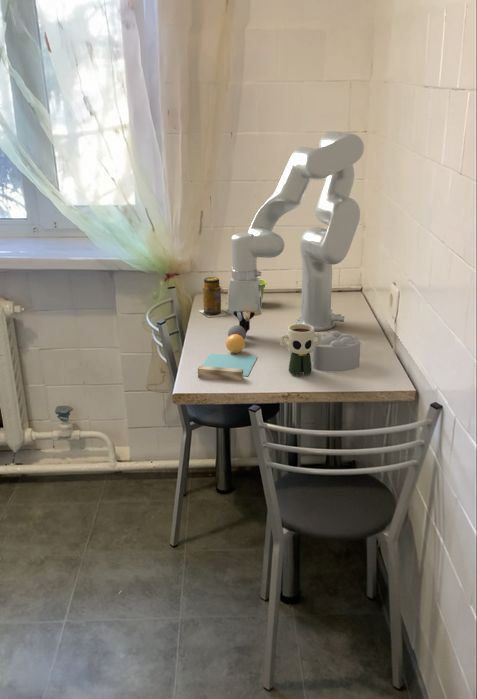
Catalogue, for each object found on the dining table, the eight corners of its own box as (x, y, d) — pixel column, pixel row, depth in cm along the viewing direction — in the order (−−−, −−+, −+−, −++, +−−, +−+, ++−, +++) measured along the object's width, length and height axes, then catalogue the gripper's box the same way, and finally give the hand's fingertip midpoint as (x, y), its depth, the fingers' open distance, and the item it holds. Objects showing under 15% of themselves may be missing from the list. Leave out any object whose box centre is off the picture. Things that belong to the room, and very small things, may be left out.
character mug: (281, 379, 176) (282, 333, 171) (278, 368, 182) (278, 324, 178) (322, 377, 177) (324, 331, 172) (317, 367, 183) (319, 322, 178)
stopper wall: (243, 377, 177) (243, 369, 176) (241, 380, 175) (241, 372, 174) (200, 374, 179) (199, 365, 178) (198, 377, 178) (197, 368, 177)
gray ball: (240, 325, 196) (243, 343, 197) (247, 323, 201) (249, 341, 202) (223, 327, 199) (226, 345, 199) (231, 325, 204) (233, 342, 204)
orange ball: (247, 338, 196) (244, 332, 191) (244, 356, 194) (241, 350, 189) (229, 337, 197) (225, 330, 192) (226, 354, 195) (223, 348, 190)
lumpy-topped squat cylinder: (311, 357, 190) (312, 328, 187) (357, 357, 189) (358, 329, 186) (313, 371, 181) (314, 341, 177) (361, 372, 180) (363, 342, 177)
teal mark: (257, 357, 190) (257, 356, 190) (247, 376, 178) (247, 375, 178) (210, 353, 193) (210, 353, 193) (197, 372, 180) (197, 372, 180)
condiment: (217, 308, 234) (216, 275, 229) (227, 314, 226) (227, 281, 222) (198, 311, 231) (197, 277, 226) (208, 318, 223) (207, 283, 219)
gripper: (270, 272, 201) (270, 329, 208) (222, 270, 204) (223, 326, 211) (266, 279, 194) (266, 337, 201) (217, 276, 197) (218, 334, 204)
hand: (244, 331), depth 206 cm, fingers closed
